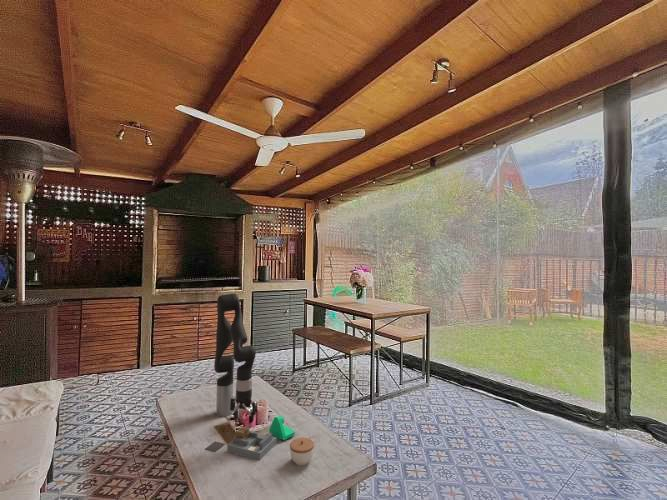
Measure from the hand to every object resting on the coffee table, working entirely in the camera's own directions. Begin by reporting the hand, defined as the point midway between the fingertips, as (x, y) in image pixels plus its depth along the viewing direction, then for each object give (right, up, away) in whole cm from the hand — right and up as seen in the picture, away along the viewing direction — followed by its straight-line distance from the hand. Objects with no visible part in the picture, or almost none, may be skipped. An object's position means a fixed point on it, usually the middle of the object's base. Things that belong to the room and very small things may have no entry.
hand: (243, 421), depth 161 cm
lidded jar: (+30, -12, -13) cm, 35 cm away
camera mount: (+18, -12, +9) cm, 23 cm away
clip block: (0, -6, -1) cm, 6 cm away
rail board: (+5, -11, -3) cm, 13 cm away
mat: (-13, -11, -2) cm, 17 cm away
